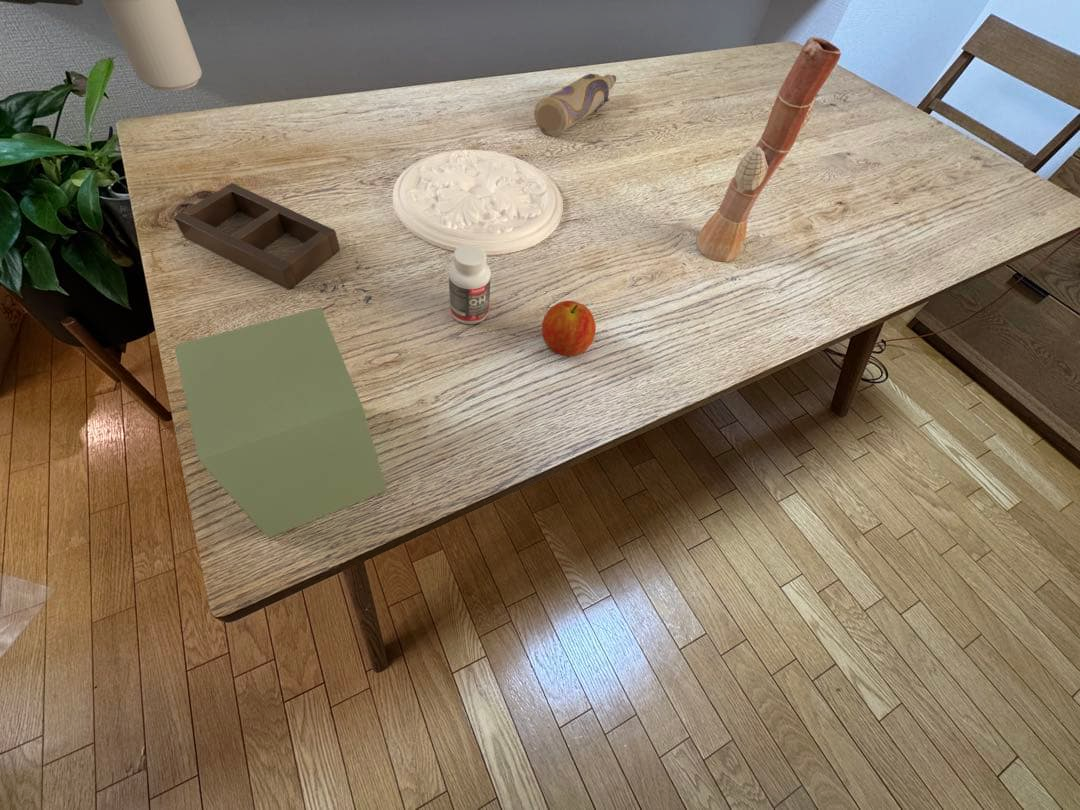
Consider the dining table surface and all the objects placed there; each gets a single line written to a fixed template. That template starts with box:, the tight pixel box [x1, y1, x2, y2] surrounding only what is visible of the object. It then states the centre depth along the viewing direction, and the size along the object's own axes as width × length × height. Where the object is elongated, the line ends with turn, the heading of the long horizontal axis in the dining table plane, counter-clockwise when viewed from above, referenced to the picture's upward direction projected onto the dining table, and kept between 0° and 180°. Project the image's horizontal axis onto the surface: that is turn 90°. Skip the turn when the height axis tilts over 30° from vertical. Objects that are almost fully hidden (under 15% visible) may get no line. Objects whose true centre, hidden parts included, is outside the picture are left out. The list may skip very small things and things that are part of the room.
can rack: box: [173, 182, 341, 291], centre depth 73 cm, size 10×19×4 cm, turn 63°
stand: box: [173, 306, 388, 539], centre depth 49 cm, size 12×12×16 cm
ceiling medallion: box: [392, 149, 564, 256], centre depth 85 cm, size 28×28×3 cm
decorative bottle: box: [533, 73, 617, 137], centre depth 104 cm, size 26×8×7 cm, turn 145°
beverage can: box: [101, 0, 203, 92], centre depth 53 cm, size 6×6×12 cm
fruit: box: [541, 300, 597, 357], centre depth 66 cm, size 7×7×8 cm
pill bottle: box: [448, 245, 492, 325], centre depth 67 cm, size 5×5×10 cm
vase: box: [695, 36, 842, 263], centre depth 74 cm, size 11×7×30 cm
